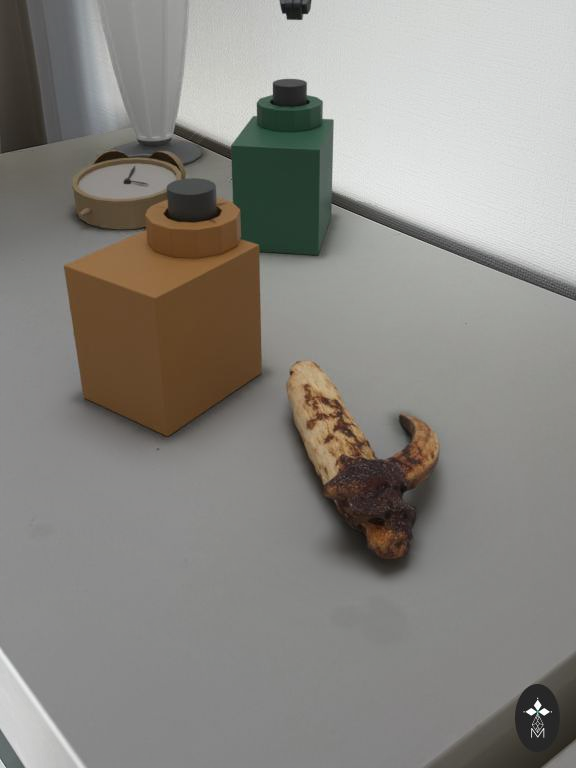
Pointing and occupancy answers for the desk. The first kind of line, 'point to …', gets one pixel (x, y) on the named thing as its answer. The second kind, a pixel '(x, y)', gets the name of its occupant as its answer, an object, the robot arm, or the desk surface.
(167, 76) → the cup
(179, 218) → the dark grey cylinder
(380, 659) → the desk surface
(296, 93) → the short charcoal cylinder
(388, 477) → the lashed bone hook
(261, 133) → the green bottle
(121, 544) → the desk surface
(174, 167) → the alarm clock
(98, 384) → the amber bottle
